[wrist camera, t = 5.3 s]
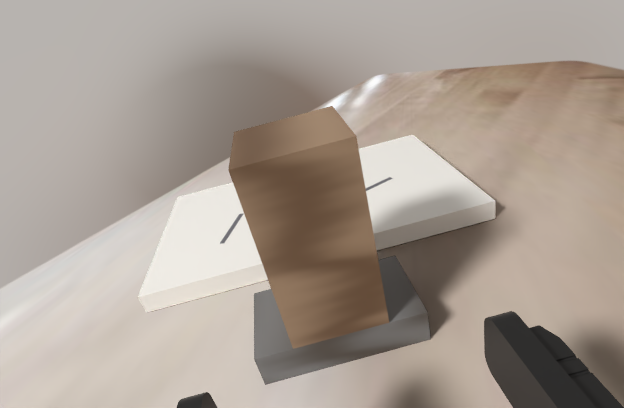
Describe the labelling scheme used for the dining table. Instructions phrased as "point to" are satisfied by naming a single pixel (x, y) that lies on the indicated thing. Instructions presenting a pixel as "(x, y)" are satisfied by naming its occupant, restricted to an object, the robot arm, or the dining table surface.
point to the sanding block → (318, 250)
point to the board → (240, 244)
